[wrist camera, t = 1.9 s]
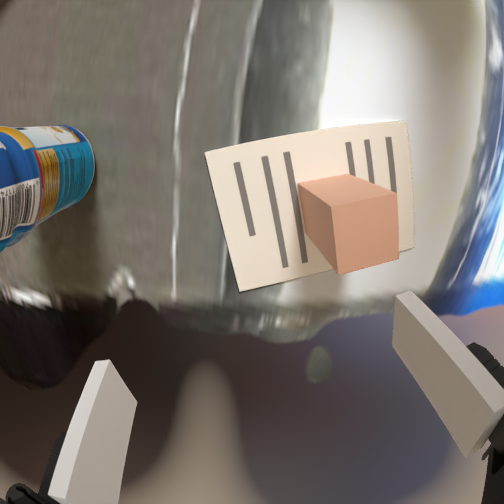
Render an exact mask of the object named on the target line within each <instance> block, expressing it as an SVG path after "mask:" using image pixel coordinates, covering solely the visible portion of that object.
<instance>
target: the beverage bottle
mask: <svg viewBox="0 0 504 504" xmlns="http://www.w3.org/2000/svg"><path fill="white" fill-rule="evenodd" d="M94 170H95V160H94V154H93V150H92V147H91V145H90V143H89V141H88V140H87V138H86V137H85V136H84V135H83V134H82V133H81V132H80V131H79V130H77V129H76V128H73V127H71V126H67V125H54V126H42V127H20V128H12V127H6V126H0V252H1V251H2V250H3V249H4V248H5V247H9V246H12V245H14V244H16V243H18V242H19V241H21V240H22V239H24V238H25V237H26V236H27V235H28V234H29V233H30V232H31V231H32V229H33V228H34V227H36V226H37V225H39V224H40V223H42V222H43V221H45V220H47V219H48V218H50V217H51V216H53V215H55V214H56V213H58V212H60V211H61V210H64V209H67V208H69V207H71V206H73V205H74V204H76V203H77V202H79V201H80V200H81V199H82V198H83V197H84V196H85V194H86V193H87V191H88V190H89V188H90V186H91V183H92V180H93V177H94Z"/></svg>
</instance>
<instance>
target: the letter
mask: <svg viewBox="0 0 504 504" xmlns="http://www.w3.org/2000/svg"><path fill="white" fill-rule="evenodd" d="M205 156H206V160H207V164H208V169H209V173H210V177H211V181H212V185H213V189H214V193H215V197H216V201H217V205H218V209H219V213H220V217H221V221H222V225H223V229H224V233H225V237H226V241H227V245H228V249H229V253H230V257H231V261H232V264H233V268H234V272H235V276H236V280H237V284H238V287H239V291H245V290H249V289H253V288H258V287H262V286H266V285H271V284H275V283H279V282H283V281H287V280H292V279H296V278H300V277H304V276H308V275H312V274H316V273H320V272H324V271H328V270H332V269H333V268H332V266H331V265H330V264H329V263H328V261H327V260H326V259H325V257H324V256H323V255H322V254H321V252H320V251H319V250H318V248H317V247H316V246H315V245H314V243H313V242H312V241H311V240H310V238H309V237H308V236H307V235H306V232H305V225H304V219H303V212H302V206H301V200H300V194H299V188H298V183H300V182H305V181H311V180H316V179H321V178H326V177H332V176H337V175H343V174H350V175H353V176H355V177H358V178H360V179H363V180H366V181H368V182H371V183H373V184H376V185H378V186H381V187H383V188H385V189H388V190H390V191H393V192H395V193H397V205H398V230H399V252H400V251H403V250H407V249H410V248H414V201H413V182H412V168H411V157H410V147H409V139H408V131H407V123H406V121H394V122H381V123H371V124H361V125H352V126H343V127H336V128H328V129H321V130H314V131H308V132H301V133H295V134H289V135H284V136H278V137H273V138H267V139H262V140H257V141H252V142H247V143H243V144H238V145H234V146H229V147H225V148H220V149H216V150H212V151H208V152H205Z"/></svg>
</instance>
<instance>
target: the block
mask: <svg viewBox="0 0 504 504" xmlns="http://www.w3.org/2000/svg"><path fill="white" fill-rule="evenodd" d="M298 188H299V194H300V200H301V206H302V212H303V219H304V225H305V232H306V235H307V236H308V237H309V238H310V240H311V241H312V242H313V243H314V245H315V246H316V247H317V248H318V250H319V251H320V252H321V254H322V255H323V256H324V257H325V259H326V260H327V261H328V263H329V264H330V265H331V266H332V268H333V269H334V270H335V272H336V273H337V274H338V275H341V274H345V273H349V272H353V271H356V270H360V269H364V268H367V267H371V266H375V265H378V264H382V263H385V262H389V261H393V260H396V259H399V230H398V205H397V193H395V192H393V191H390V190H388V189H385V188H383V187H381V186H378V185H376V184H373V183H371V182H368V181H366V180H363V179H360V178H358V177H355V176H353V175H350V174H343V175H337V176H332V177H326V178H321V179H316V180H311V181H305V182H300V183H298Z"/></svg>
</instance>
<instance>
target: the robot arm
mask: <svg viewBox="0 0 504 504" xmlns="http://www.w3.org/2000/svg"><path fill="white" fill-rule="evenodd" d="M392 347H393V348H394V349H395V351H396V352H397V354H398V355H399V356H400V358H401V360H402V361H403V362H404V364H405V365H406V367H407V368H408V370H409V371H410V373H411V374H412V375H413V377H414V378H415V380H416V381H417V383H418V384H419V386H420V387H421V389H422V390H423V392H424V393H425V395H426V396H427V398H428V399H429V401H430V402H431V404H432V405H433V407H434V409H435V410H436V411H437V413H438V415H439V416H440V418H441V419H442V421H443V423H444V424H445V426H446V427H447V429H448V430H449V432H450V434H451V435H452V437H453V439H454V440H455V442H456V443H457V445H458V447H459V448H460V450H461V452H462V453H463V455H464V457H465V458H466V457H468V456H469V455H470V454H472V453H474V452H476V451H477V450H479V449H480V448H482V446H483V445H484V444H485V442H486V441H487V439H489V441H490V442H491V445H490V446H489V448H488V449H487V451H486V452H485V453H484V454H483V457H482V460H485V458H486V457H487V456H488V455H489V457H488V465H487V474H486V480H485V486H484V492H483V498H482V503H481V504H504V367H503V366H500V363H499V362H498V361H497V360H496V359H494V357H493V356H492V355H491V353H489V351H488V350H487V349H486V348H484V347H482V346H480V345H478V344H476V343H472V344H470V345H468V346H465V345H464V344H463V343H462V342H461V341H460V340H459V339H458V338H457V337H456V336H455V335H454V333H453V332H452V331H451V330H450V329H449V328H448V327H447V326H446V325H445V324H444V323H443V322H442V321H441V320H440V319H439V318H438V317H437V316H436V315H435V314H434V313H433V312H432V311H431V310H430V309H429V308H428V307H427V306H426V305H425V304H424V303H423V302H422V301H421V300H420V299H419V298H418V297H417V296H416V295H415V294H414V293H413V292H412V291H411V290H410V291H407V292H404V293H401V294H398V295H395V308H394V325H393V338H392ZM136 405H137V401H136V400H135V398H134V397H133V395H132V394H131V392H130V391H129V389H128V388H127V386H126V385H125V383H124V382H123V380H122V379H121V377H120V375H119V374H118V372H117V371H116V369H115V367H114V366H113V364H112V362H111V361H110V360H104V361H95V363H94V366H93V368H92V370H91V373H90V375H89V377H88V380H87V382H86V385H85V387H84V390H83V392H82V395H81V397H80V400H79V402H78V405H77V407H76V410H75V413H74V415H73V418H72V421H71V423H70V426H69V429H68V432H67V433H66V432H62V434H61V435H60V436H59V437H58V439H57V440H56V441H55V443H54V446H53V449H52V455H50V458H49V463H48V464H47V467H46V471H45V473H44V476H43V480H42V483H41V486H40V489H39V492H38V494H37V493H35V492H34V491H33V490H31V489H30V488H29V487H27V486H26V485H25V484H21V483H18V484H14V485H13V486H12V487H10V488H9V490H8V491H7V494H6V501H5V500H3V499H1V498H0V504H118V500H119V494H120V487H121V481H122V475H123V469H124V464H125V458H126V453H127V447H128V442H129V437H130V432H131V428H132V423H133V418H134V414H135V409H136Z"/></svg>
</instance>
